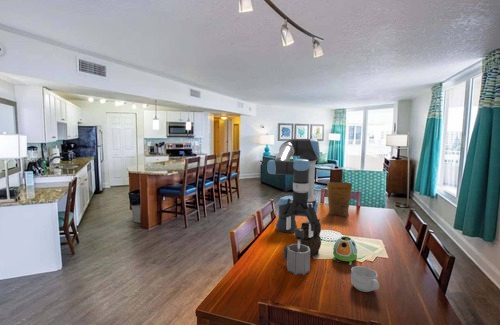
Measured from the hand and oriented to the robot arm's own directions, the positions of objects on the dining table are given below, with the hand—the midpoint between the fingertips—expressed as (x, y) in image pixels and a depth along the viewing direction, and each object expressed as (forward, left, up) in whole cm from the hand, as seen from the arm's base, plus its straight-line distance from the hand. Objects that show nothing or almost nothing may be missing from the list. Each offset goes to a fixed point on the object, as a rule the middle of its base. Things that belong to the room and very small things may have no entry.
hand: (299, 232), depth 136 cm
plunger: (0, 0, -18) cm, 18 cm away
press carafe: (-1, 0, -19) cm, 19 cm away
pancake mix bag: (-32, +98, -19) cm, 105 cm away
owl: (-8, +20, -19) cm, 29 cm away
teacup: (+31, +7, -19) cm, 37 cm away
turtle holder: (+10, +29, -19) cm, 36 cm away
